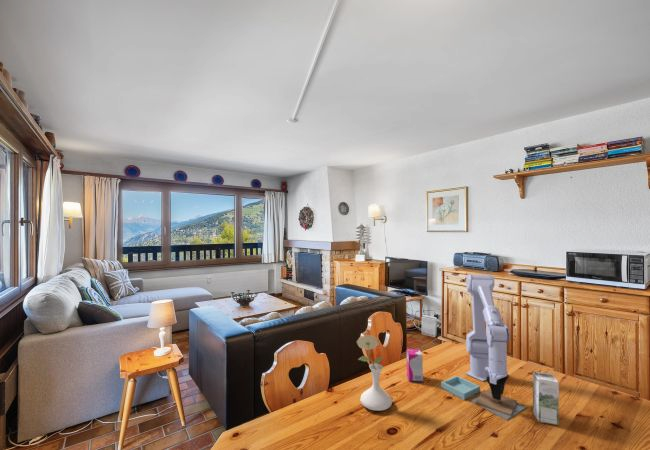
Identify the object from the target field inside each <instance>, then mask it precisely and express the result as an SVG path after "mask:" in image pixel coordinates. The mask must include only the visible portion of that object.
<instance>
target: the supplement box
mask: <svg viewBox="0 0 650 450" xmlns="http://www.w3.org/2000/svg"><path fill="white" fill-rule="evenodd" d="M423 364H424V363H423V353H422V352H421V350H420V349H413V348H412V349H410V348H409V349H408V348H407V349H406V376H407V379H408V381H409V383H423V382H424V370H423V369H424V368H423V367H424V365H423Z"/></svg>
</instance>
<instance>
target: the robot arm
mask: <svg viewBox="0 0 650 450" xmlns="http://www.w3.org/2000/svg"><path fill="white" fill-rule="evenodd" d="M465 281H466V282H465V283H466V284H465V285H466V292H468V293H469V294H470V296H471V311H472V312H471V313H472V314H471V315H472V330H471V331H470V332H468V333H467V334H466V340H465V349H466V352H467V354H469V366H470V367H469V369H470V370H469V371H466V372H465V375H468V376H470V377H472V378H475V379H476V380H479V381H481V382H485V381H486V382H487V384H488V386H489V389H490V390H491V392H492V396H493V398H494V399H497V400H500V397H501V395H502V396H503V394H504V391H505V387H506V382H507V380H508V379H509V375H510V374H508V357H507V354H508V353H507V352H508V351H507V348H508V347H507V345H508V344H507V343H509V342H510V338H511V337H510V330H509V328H508V326H507V325H506V323H505V322H504V321H503V318H502V315H501V312H500V308H498V307H496V306H495V302H494V297H493V291H494V288H495V277H494V276H493V275H492V274H471V273H469V274H467V275H466V279H465Z"/></svg>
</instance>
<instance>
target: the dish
mask: <svg viewBox="0 0 650 450" xmlns="http://www.w3.org/2000/svg"><path fill="white" fill-rule="evenodd" d="M440 389H442V390H443V391H445V392H446V393H449V394H452V395H453V396H455V397H457V398H458V399H461V400H463V401H466V400H468V399H470V398H472V397H474V396H476V395H478V394H481V386H480V385H478V384H476V383H474V382H472V381H470V380H468V379H465V378H463V377H461V376H458V375H455V376H453V377H450V378H448V379H445V380H443V381H441V383H440Z"/></svg>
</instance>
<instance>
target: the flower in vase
mask: <svg viewBox="0 0 650 450" xmlns="http://www.w3.org/2000/svg"><path fill="white" fill-rule="evenodd" d="M356 344H357V346H358V347H359V348H360V349H362V350H363V349H364V350H365V351H367V356H368V357H367V356H365V355H362V356H360V357H359V358H358V359H357V360H358V361H361V362H365V363H366V362H368V361H370V363H371V364H369V365H368V367H369V369H370V370H371V376H372V385H371V386H370V387H369V388H368V389H366V390H364V392H363V393H362V394H361V396H360V397H359V399H360V401H359V402H360V403H361V404H362V406H364V407H365V408H366V409H368V410H371V411H378V412H380V411H381V412H382V411H386V410H388V409H389V408H390V407H392V404H393V399H392V397H391V395H389V394H388V392H386V391H385V390H384V389H382V387H381V386H380V375H381V372H382V370H383V368H384V366H383V365H382V364H380V362H382V360H383V358H384V356H380V357H376V358H374V360H373V361H372V359H371V358H370V350H374V349H376V348H377V347H378V345H379V344H380V343H379V341H378V338H377V337H376V336H373V335H372V334H370V335H369V334H363V335H361V336H359V337H358V339H357V340H356Z"/></svg>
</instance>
